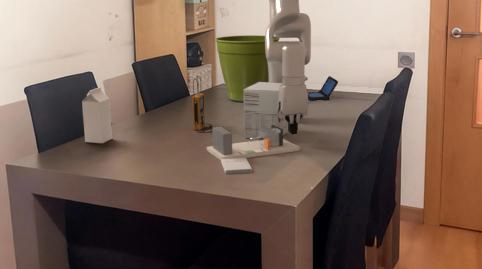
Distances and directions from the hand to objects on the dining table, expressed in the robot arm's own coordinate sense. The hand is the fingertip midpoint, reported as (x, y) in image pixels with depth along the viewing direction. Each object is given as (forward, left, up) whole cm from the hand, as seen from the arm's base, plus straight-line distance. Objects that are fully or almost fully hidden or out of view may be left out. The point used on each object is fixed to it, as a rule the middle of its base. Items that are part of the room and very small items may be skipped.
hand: (292, 133), depth 218 cm
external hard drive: (+27, +15, -5) cm, 31 cm away
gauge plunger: (+11, +1, -3) cm, 11 cm away
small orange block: (+12, +5, -2) cm, 14 cm away
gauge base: (+15, 0, -4) cm, 16 cm away
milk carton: (+60, -36, -4) cm, 70 cm away
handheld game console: (-51, -71, -5) cm, 87 cm away
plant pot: (-19, -83, -4) cm, 85 cm away
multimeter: (+18, -36, -4) cm, 41 cm away
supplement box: (+1, -18, -4) cm, 19 cm away
